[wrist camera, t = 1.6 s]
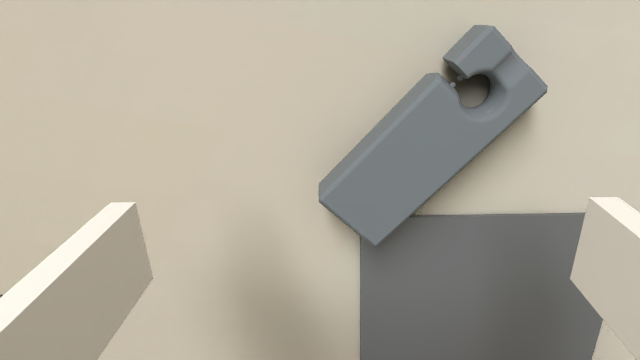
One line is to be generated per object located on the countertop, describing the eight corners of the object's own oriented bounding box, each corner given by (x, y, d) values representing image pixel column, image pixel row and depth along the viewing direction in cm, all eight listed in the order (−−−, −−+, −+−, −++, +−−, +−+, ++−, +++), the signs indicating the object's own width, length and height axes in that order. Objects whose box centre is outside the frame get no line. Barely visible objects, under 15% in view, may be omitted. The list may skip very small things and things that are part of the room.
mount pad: (360, 369, 27) (360, 371, 27) (360, 216, 22) (360, 218, 22) (586, 369, 26) (587, 372, 26) (630, 212, 22) (632, 213, 22)
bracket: (315, 184, 21) (315, 201, 19) (475, 20, 18) (493, 22, 16) (371, 230, 22) (376, 250, 20) (531, 82, 19) (553, 90, 17)
